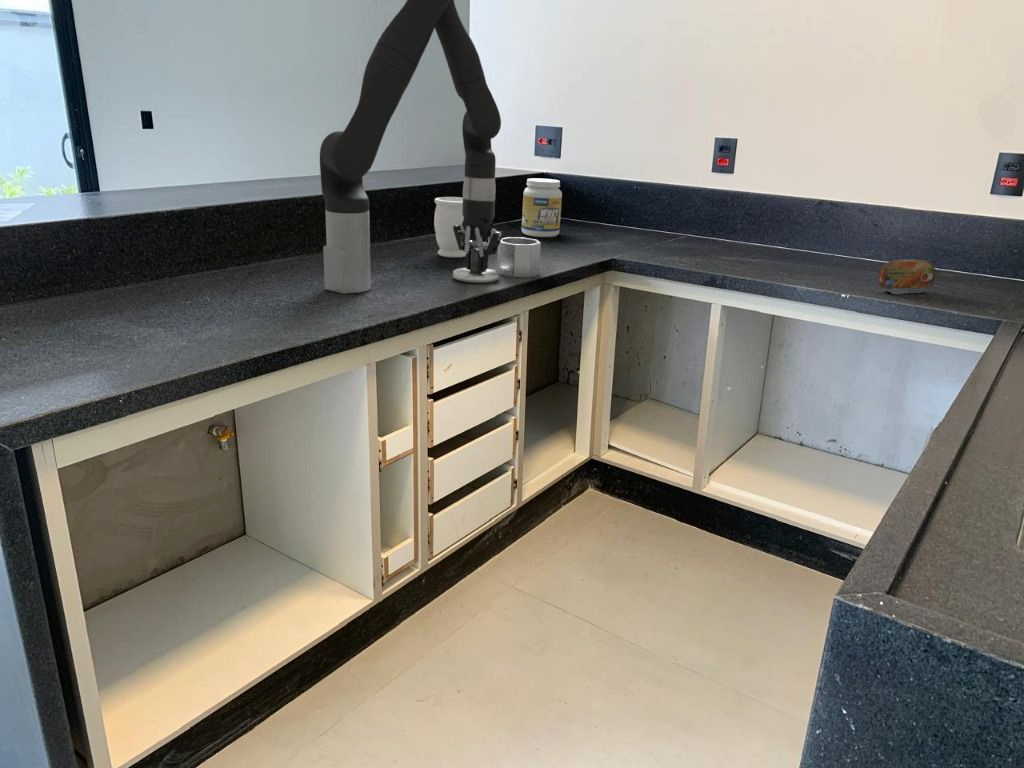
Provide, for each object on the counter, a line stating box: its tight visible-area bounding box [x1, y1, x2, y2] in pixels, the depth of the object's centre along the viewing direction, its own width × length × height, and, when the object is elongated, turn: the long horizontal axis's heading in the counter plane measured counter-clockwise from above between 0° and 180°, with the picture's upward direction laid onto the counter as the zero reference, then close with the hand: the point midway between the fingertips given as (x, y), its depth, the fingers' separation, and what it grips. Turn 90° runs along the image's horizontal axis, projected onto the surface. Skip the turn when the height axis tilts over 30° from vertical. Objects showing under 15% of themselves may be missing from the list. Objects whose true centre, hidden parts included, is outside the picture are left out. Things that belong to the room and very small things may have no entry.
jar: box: [433, 196, 466, 259], centre depth 213 cm, size 11×10×15 cm
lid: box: [452, 247, 500, 284], centre depth 188 cm, size 11×11×7 cm
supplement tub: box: [521, 177, 563, 238], centre depth 249 cm, size 12×12×17 cm
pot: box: [496, 236, 542, 279], centre depth 197 cm, size 10×10×8 cm
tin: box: [878, 259, 936, 289], centre depth 196 cm, size 15×3×8 cm, turn 105°
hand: (476, 270), depth 189 cm, fingers closed on lid, 3 cm apart
